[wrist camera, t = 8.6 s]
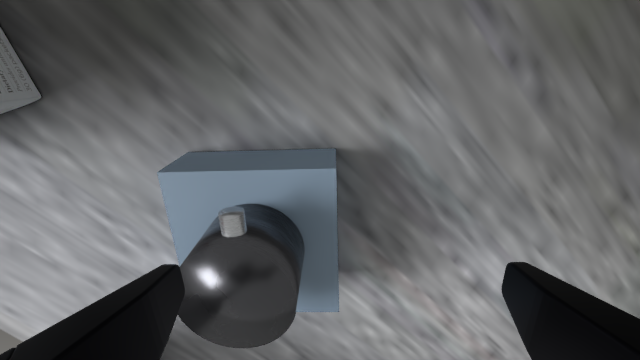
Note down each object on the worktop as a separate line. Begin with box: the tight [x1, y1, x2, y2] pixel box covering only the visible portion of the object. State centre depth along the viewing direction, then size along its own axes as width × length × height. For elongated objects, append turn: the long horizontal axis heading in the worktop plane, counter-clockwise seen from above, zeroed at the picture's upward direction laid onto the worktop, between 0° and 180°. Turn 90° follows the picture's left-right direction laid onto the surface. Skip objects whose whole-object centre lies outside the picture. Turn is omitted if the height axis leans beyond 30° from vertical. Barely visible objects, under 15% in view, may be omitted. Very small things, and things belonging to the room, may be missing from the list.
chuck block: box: [157, 148, 339, 312], centre depth 21 cm, size 10×10×4 cm
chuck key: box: [178, 204, 305, 348], centre depth 19 cm, size 8×6×8 cm
